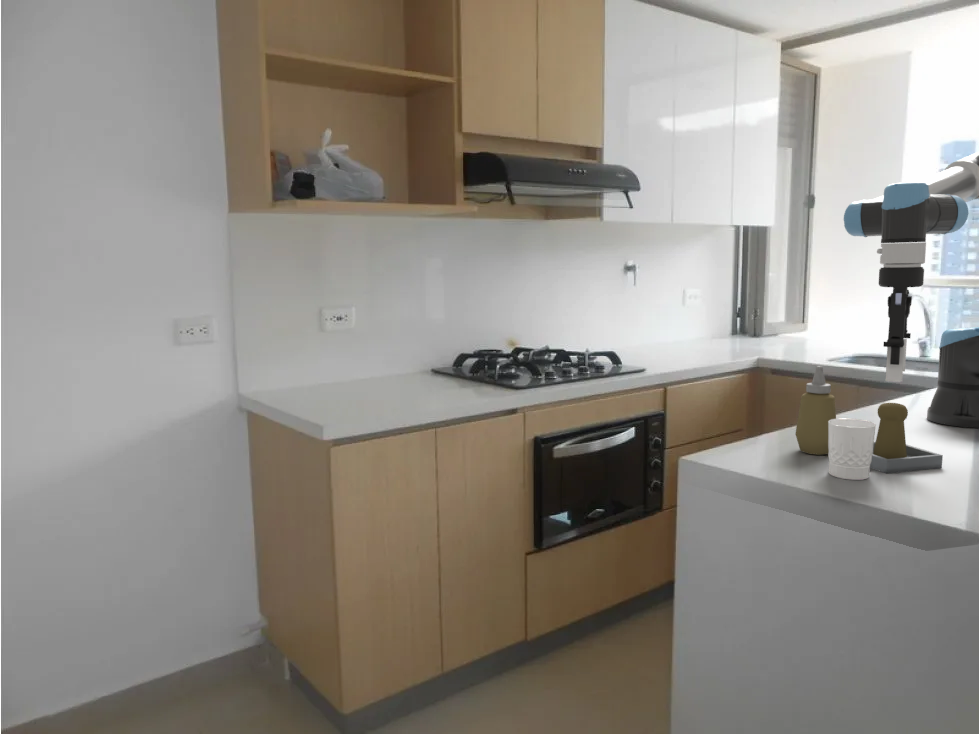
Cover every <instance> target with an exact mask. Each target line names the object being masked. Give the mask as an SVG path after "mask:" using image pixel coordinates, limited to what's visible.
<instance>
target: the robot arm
mask: <svg viewBox="0 0 979 734" xmlns="http://www.w3.org/2000/svg"><path fill="white" fill-rule="evenodd" d="M977 199H978V200H979V151H978V152H975V153H973V154H970V155H968V156H965V157H963V158H960V159H958V160H955V161H953V162H951V163H950V164H948V165H947V166H946V167H945V168H944V170H943V171H941V172H938V173H935V174H934V175H931V176H928V177H926V178H923V179H921V180H919V181H909V182H906V181H905V182H897V183H896V182H895V183H891V184H888V185H887V186H885V187H884V190H883V195H881V196H878V197H876V198H873V199H862V200H858V201H853V202H851V203H850V204H849V205H848V206H847V207H846V209H845V211H844V214H843V223H844V225H843V226H844V228H845V231H846V232H847V233H848V235H850V236H853V237H864V238H867V237H880V236H881V240H880V247H881V248H878V249H877V250H876V253H877V254H878V255H880V256H879V263H880V264H881V265H883V266H882V267H880V268H879V271H878V272H879V273H878V286H879V287H883V288H893V289H892V292H891V294H890V295H888V297H887V307H888V311H887V317H888V318H889V321H888V322H889V323H888V336H887V337H888V338H887V340H886V341H883V347H884V348H885V347H886V363H885V365H886V366H885V367H886V368H885V382H889V383H890V382H892V383H893V382H894V383H903V373H904V372H906V360H907V358H906V357H907V339H911V336H912V335H911V332H910V333H909V332H908V318H909V317H910V314H911V313H910V312H911V311H910V310H911V306H912V299H913V298H912V296H911V295H910V296H909V294H910V291H909V288H919V287H922V286H923V285H924V280H925V279H924V278H925V268H924V267H923V266H922V265H923V264H925V263H926V250H927V249H926V248H927V242H926V240H927V235H947V234H952V233H955V232H957V231H959V230H960V229H961V228H963V226H965V224H966V223H967V220H968V218H969V207H968V204H967V203H968V202H971V201H973V200H977ZM939 343H940V344H939V346H938V348H939V352H938V353H939V356H938V358H939V359H938V371H937V374H938V375H937V388H936V391H935V392H934V394H933V397H932V399H931V403H930V405H929V406H928V408H927V412H926V419H927V420H928V421H931V422H933V423H935V424H936V423H937V424H941V425H944V426H945V425H947V426H953V427H960V428H961V427H962V428H975V429H976V428H977V429H978V428H979V326H977V327H961V328H951V329H950V328H949V329H946V330H945V331H943V332H942V334H941V337H940V342H939Z"/></svg>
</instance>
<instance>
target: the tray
mask: <svg viewBox="0 0 979 734" xmlns="http://www.w3.org/2000/svg"><path fill="white" fill-rule="evenodd" d="M875 443H876V441H874V444H873V452H874V447H875ZM906 452H907V457H905V458H894V459H886V458H883V457H880V456H877V455H874V454H873V453H872V460H871V464H870V469H873V470H876V471H878V472H879V471H880V472H881V473H884V474H893V473H894V474H896V473H905V472H915V471H926V470H935V469H942V468H943V458H944V457H943V454H939V453H937V452H933V451H929V450H926V449H923V448H920V447H917V446H913V445H909V444H907V443H906Z"/></svg>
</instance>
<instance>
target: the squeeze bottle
mask: <svg viewBox="0 0 979 734" xmlns="http://www.w3.org/2000/svg"><path fill="white" fill-rule="evenodd" d="M815 367H816V368H815V369H814V370H815V371H814V373H813V378H812V381H811V382H807V383H806V387H805V393H803V394H802V395H801V396H800V403H799V409H798V415H797V423H796V428H795V437H796V440H797V443H798V444H797V445H798V447H799V450H800V451H801V452H803V453H805V454H809V455H818V456H820V455H821V456H822V455H823V456H824V455H828V453H829V449H828V421H829V420H831V419H837V412H836V411H837V410H836V397H835V396H834V395H833V394H831V389H832V388H831V384H830V383H826V377H825V373H824V368H823V366H820V365H817V366H815Z"/></svg>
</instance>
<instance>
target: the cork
mask: <svg viewBox="0 0 979 734" xmlns="http://www.w3.org/2000/svg"><path fill="white" fill-rule="evenodd" d="M908 412H909V411H908V408H907V407H906V405H904V404H901V403H897V402H883V403H881V404H879V406H878V408H877V416H878V418H879V419H880V420H879V424H878V428H877V434H876V440H875V442H876V443H875V447H874V452H873V454H874V455H877V456H880V457H883V458H886V459H894V458H905V457H907V452H906V444H907V443H906V430H905V429H906V428H905V421H906V419H907V417H908V415H909V413H908Z"/></svg>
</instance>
